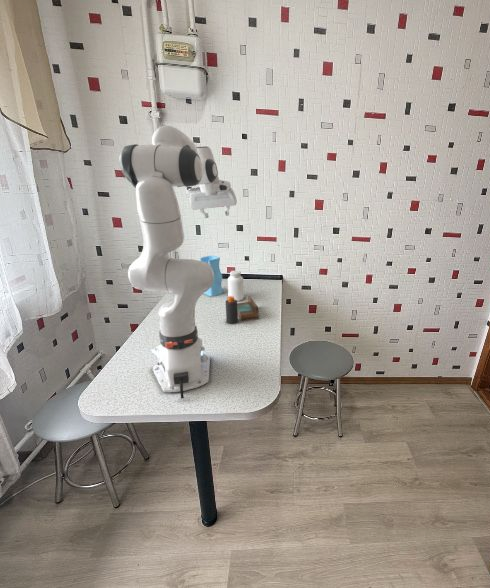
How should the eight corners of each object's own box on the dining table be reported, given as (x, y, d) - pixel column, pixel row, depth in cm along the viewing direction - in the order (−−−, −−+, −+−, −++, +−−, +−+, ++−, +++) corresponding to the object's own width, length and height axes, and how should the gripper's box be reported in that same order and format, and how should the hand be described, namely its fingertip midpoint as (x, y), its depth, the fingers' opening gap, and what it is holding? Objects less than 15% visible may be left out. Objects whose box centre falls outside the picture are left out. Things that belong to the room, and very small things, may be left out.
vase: (202, 293, 180) (199, 257, 173) (213, 289, 186) (211, 255, 179) (211, 296, 176) (209, 260, 169) (223, 292, 182) (221, 257, 175)
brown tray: (258, 318, 155) (258, 306, 153) (241, 321, 152) (241, 309, 149) (250, 307, 167) (249, 296, 164) (234, 309, 163) (233, 298, 161)
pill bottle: (246, 299, 175) (245, 273, 169) (231, 302, 170) (230, 275, 165) (240, 294, 181) (239, 268, 175) (226, 297, 176) (224, 270, 171)
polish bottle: (239, 322, 150) (238, 298, 145) (227, 324, 148) (226, 300, 143) (236, 318, 154) (235, 294, 149) (225, 320, 152) (224, 295, 147)
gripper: (184, 190, 141) (193, 221, 148) (232, 185, 143) (238, 216, 150) (186, 186, 146) (195, 216, 153) (233, 181, 148) (239, 211, 155)
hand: (217, 216), depth 152 cm, fingers open, 8 cm apart
